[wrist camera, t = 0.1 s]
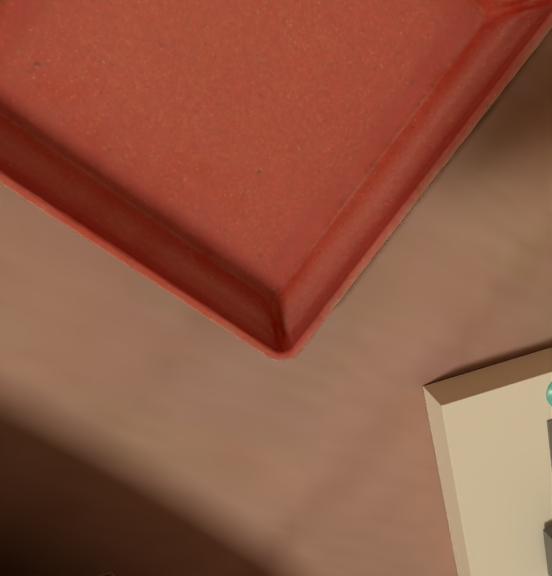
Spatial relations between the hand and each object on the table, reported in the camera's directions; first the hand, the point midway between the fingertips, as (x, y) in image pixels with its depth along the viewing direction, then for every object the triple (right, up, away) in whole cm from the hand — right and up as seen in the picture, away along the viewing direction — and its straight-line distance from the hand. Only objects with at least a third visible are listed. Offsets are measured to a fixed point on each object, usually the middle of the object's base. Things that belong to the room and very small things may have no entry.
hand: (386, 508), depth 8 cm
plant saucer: (-4, +13, +12) cm, 18 cm away
